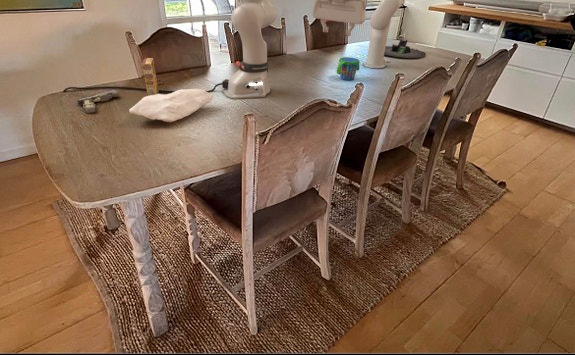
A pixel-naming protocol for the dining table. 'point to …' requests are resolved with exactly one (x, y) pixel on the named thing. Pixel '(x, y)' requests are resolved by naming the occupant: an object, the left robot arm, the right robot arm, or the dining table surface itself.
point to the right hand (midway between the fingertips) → (325, 15)
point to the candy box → (150, 76)
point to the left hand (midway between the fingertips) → (336, 33)
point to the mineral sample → (403, 51)
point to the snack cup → (348, 67)
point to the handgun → (95, 100)
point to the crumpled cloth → (171, 104)
